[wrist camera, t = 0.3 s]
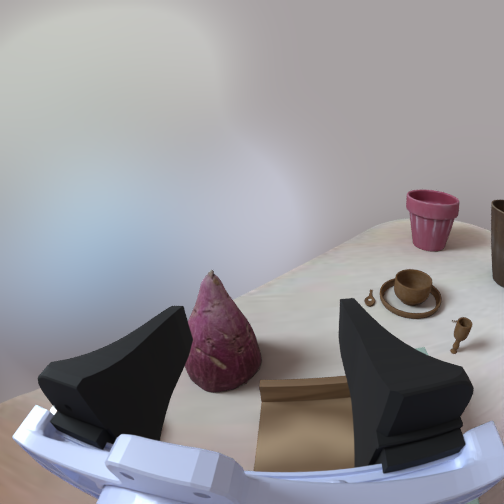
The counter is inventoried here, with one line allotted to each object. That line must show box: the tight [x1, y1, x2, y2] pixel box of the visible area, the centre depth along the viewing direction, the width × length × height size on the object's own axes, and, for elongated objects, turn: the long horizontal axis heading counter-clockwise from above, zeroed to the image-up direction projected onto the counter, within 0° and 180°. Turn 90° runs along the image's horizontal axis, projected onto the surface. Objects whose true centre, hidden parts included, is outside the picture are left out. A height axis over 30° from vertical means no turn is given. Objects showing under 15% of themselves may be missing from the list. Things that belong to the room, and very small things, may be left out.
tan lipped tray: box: [254, 376, 354, 472], centre depth 19 cm, size 22×16×4 cm
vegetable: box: [185, 270, 262, 393], centre depth 36 cm, size 10×10×15 cm
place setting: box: [365, 269, 472, 354], centre depth 39 cm, size 18×20×6 cm
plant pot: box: [406, 190, 459, 251], centre depth 59 cm, size 14×14×13 cm
